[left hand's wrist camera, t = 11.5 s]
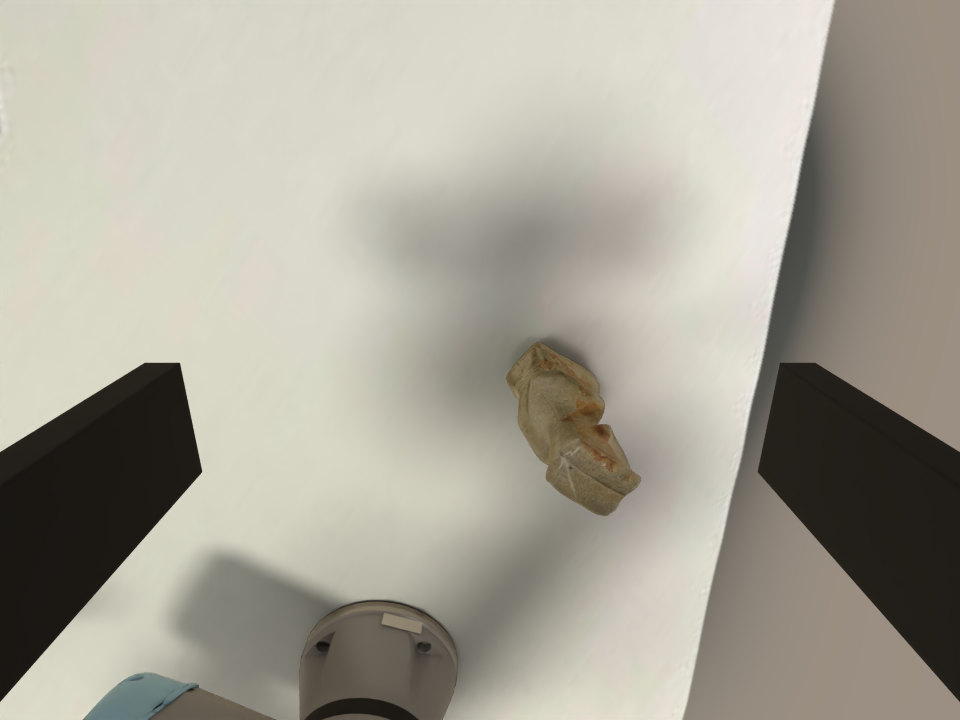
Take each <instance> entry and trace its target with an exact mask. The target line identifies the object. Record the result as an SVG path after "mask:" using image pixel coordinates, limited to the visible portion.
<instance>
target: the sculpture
mask: <svg viewBox="0 0 960 720" xmlns="http://www.w3.org/2000/svg"><path fill="white" fill-rule="evenodd" d="M506 379H507V382H508V385H509V386H510V388H511V390H512V392H513V393H514V395H515V397H516V398H517V400H518V401H519V408H518V424H519V427H520V429H521V431H522V432H523V434H524V436H525V438H526V439H527V441H528V443H529V444H530V446H531V448H532V449H533V451H534V452H535V454H536V455H537V457H538V458H539V459H540V460H541V461H542V462H544V463H545V464H547V465H549V466H548V469H547V472H546V480H547V481H548V482H550V483H551V484H552V485H553V486H554V488H555V489H557V490H558V491H559V492H560V493H561V494H563V495H564V496H566V497H567V498H569V499H571V500H573V501H575V502H576V503H578V504H580V505H582V506H583V507H585V508H587V509H588V510H590V511H591V512H593V513H595V514H598V515H602V516H607V515H609V514H610V513H612V512H613V511H614V510H616V508H617V507H618V505H619V503H620V501H621V500H622V498H623V497H624V496H626V495H627V494H629V493H630V492H632V491H633V490H634V489H635V488H636V487H637V486H638V485H639V483H640V482H641V478H640V476H638V475H637V474H636V473H635V472H633V471H632V470H631V469H630V466H629V463H628V460H627V458H626V456H625V454H624V452H623V450H622V448H621V447H620V445H619V443H618V442H617V440H616V438H615V436H614V434H613V431H612V429H611V427H610V426H609V425H607V424H600V425H597V424H598V422H599V421H600V419H601V418H602V415H603V413H604V409H605V403H604V400H603V399H602V397H600V396H599V393H600V385H599V383H598V381H597V379H596V378H595V377H594V376H593V375H592V374H591V373H590V372H589V371H588V370H586V369H585V368H584V367H582V366H580V365H579V364H577V363H575V362H573V361H572V360H570V359H568V358H566V357H564V356H562V355H560V354H558V353H556V352H555V351H553V350H551V349H550V348H548V347H547V346H546V345H544V344H542V343H539V342H537V343H535V344H534V345H533V346H532V347H530V349H528V350H527V351H526V352H525V353H524V354H523V355H522V357H521V358H520V359H519V360H518V361H517V362H516V363H515V364H514V366H513V367H512V369H511V370H510V371H509V373H508V375H507V377H506Z"/></svg>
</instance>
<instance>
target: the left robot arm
mask: <svg viewBox="0 0 960 720" xmlns="http://www.w3.org/2000/svg"><path fill="white" fill-rule="evenodd" d="M201 473H202V468H201V463H200V458H199V454H198V449H197V444H196V439H195V434H194V429H193V424H192V419H191V415H190V410H189V405H188V400H187V395H186V390H185V385H184V380H183V376H182V371H181V366H180V363H144V364H142V365H141V366H139V367H137V368H136V369H134V370H132V371H131V372H129V373H128V374H126V375H124V376H123V377H121V378H120V379H118V380H116V381H115V382H113V383H111V384H110V385H108V386H107V387H105V388H103V389H102V390H100V391H98V392H97V393H95V394H94V395H92V396H90V397H89V398H87V399H86V400H84V401H82V402H81V403H79V404H77V405H76V406H74V407H73V408H71V409H69V410H68V411H66V412H64V413H63V414H61V415H60V416H58V417H56V418H55V419H53V420H51V421H50V422H48V423H47V424H45V425H43V426H42V427H40V428H39V429H37V430H35V431H34V432H32V433H30V434H29V435H27V436H26V437H24V438H22V439H21V440H19V441H17V442H16V443H14V444H13V445H11V446H9V447H8V448H6V449H5V450H3V451H1V452H0V702H1V700H2V699H3V698H4V697H5V696H6V695H7V694H8V692H9V691H10V690H11V689H12V688H13V687H14V686H15V684H16V683H17V682H18V681H19V680H20V679H21V678H22V676H23V675H24V674H25V673H26V672H27V671H28V670H29V669H30V667H31V666H32V665H33V664H34V663H35V662H36V661H37V659H38V658H39V657H40V656H41V655H42V654H43V653H44V651H45V650H46V649H47V648H48V647H49V646H50V645H51V644H52V642H53V641H54V640H55V639H56V638H57V637H58V636H59V634H60V633H61V632H62V631H63V630H64V629H65V628H66V626H67V625H68V624H69V623H70V622H71V621H72V620H73V618H74V617H75V616H76V615H77V614H78V613H79V612H80V611H81V609H82V608H83V607H84V606H85V605H86V604H87V603H88V601H89V600H90V599H91V598H92V597H93V596H94V595H95V593H96V592H97V591H98V590H99V589H100V588H101V587H102V585H103V584H104V583H105V582H106V581H107V580H108V579H109V578H110V576H111V575H112V574H113V573H114V572H115V571H116V570H117V568H118V567H119V566H120V565H121V564H122V563H123V562H124V560H125V559H126V558H127V557H128V556H129V555H130V554H131V552H132V551H133V550H134V549H135V548H136V547H137V546H138V545H139V543H140V542H141V541H142V540H143V539H144V538H145V537H146V535H147V534H148V533H149V532H150V531H151V530H152V529H153V527H154V526H155V525H156V524H157V523H158V522H159V521H160V519H161V518H162V517H163V516H164V515H165V514H166V513H167V512H168V510H169V509H170V508H171V507H172V506H173V505H174V504H175V502H176V501H177V500H178V499H179V498H180V497H181V496H182V494H183V493H184V492H185V491H186V490H187V489H188V488H189V487H190V485H191V484H192V483H193V482H194V481H195V480H196V479H197V477H198V476H199V475H200V474H201ZM758 473H759V474H760V475H761V476H762V477H763V479H764V480H765V481H766V482H767V483H768V484H769V485H770V487H771V488H772V489H773V490H774V491H775V492H776V493H777V494H778V496H779V497H780V498H781V499H782V500H783V501H784V502H785V503H786V505H787V506H788V507H789V508H790V509H791V510H792V511H793V513H794V514H795V515H796V516H797V517H798V518H799V519H800V521H801V522H802V523H803V524H804V525H805V526H806V527H807V529H808V530H809V531H810V532H811V533H812V534H813V535H814V537H815V538H816V539H817V540H818V541H819V542H820V543H821V545H822V546H823V547H824V548H825V549H826V550H827V551H828V552H829V554H830V555H831V556H832V557H833V558H834V559H835V560H836V562H837V563H838V564H839V565H840V566H841V567H842V568H843V570H844V571H845V572H846V573H847V574H848V575H849V576H850V577H851V579H852V580H853V581H854V582H855V583H856V584H857V585H858V587H859V588H860V589H861V590H862V591H863V592H864V593H865V595H866V596H867V597H868V598H869V599H870V600H871V601H872V603H873V604H874V605H875V606H876V607H877V608H878V609H879V611H880V612H881V613H882V614H883V615H884V616H885V617H886V618H887V620H888V621H889V622H890V623H891V624H892V625H893V626H894V628H895V629H896V630H897V631H898V632H899V633H900V634H901V636H902V637H903V638H904V639H905V640H906V641H907V642H908V643H909V645H910V646H911V647H912V648H913V649H914V650H915V651H916V653H917V654H918V655H919V656H920V657H921V658H922V659H923V661H924V662H925V663H926V664H927V665H928V666H929V667H930V669H931V670H932V671H933V672H934V673H935V674H936V675H937V676H938V678H939V679H940V680H941V681H942V682H943V683H944V684H945V686H946V687H947V688H948V689H949V690H950V691H951V692H952V694H953V695H954V696H955V697H956V698H957V699H958V700H959V701H960V452H959V451H957V450H955V449H954V448H952V447H951V446H949V445H947V444H946V443H944V442H943V441H941V440H939V439H938V438H936V437H934V436H933V435H931V434H929V433H928V432H926V431H925V430H923V429H921V428H920V427H918V426H917V425H915V424H913V423H912V422H910V421H908V420H907V419H905V418H904V417H902V416H900V415H899V414H897V413H896V412H894V411H892V410H891V409H889V408H887V407H886V406H884V405H883V404H881V403H879V402H878V401H876V400H874V399H873V398H871V397H870V396H868V395H866V394H865V393H863V392H862V391H860V390H858V389H857V388H855V387H853V386H852V385H850V384H849V383H847V382H845V381H844V380H842V379H840V378H839V377H837V376H836V375H834V374H832V373H831V372H829V371H827V370H826V369H824V368H823V367H821V366H819V365H818V364H816V363H780V366H779V371H778V376H777V380H776V385H775V390H774V395H773V400H772V405H771V410H770V415H769V419H768V424H767V429H766V434H765V439H764V444H763V449H762V454H761V458H760V463H759V468H758ZM456 678H457V654H456V650H455V647H454V644H453V642H452V640H451V638H450V637H449V635H448V634H447V633H446V631H445V630H444V629H443V628H442V627H441V626H440V625H439V624H438V623H437V622H436V621H434V620H433V619H432V618H430V617H429V616H427V615H425V614H424V613H422V612H420V611H418V610H415V609H413V608H410V607H407V606H404V605H400V604H395V603H389V602H364V603H357V604H353V605H349V606H346V607H343V608H341V609H338V610H336V611H334V612H332V613H331V614H329V615H327V616H326V617H325V618H323V619H322V620H321V621H320V622H319V623H318V624H317V625H316V626H315V627H314V629H313V630H312V632H311V633H310V635H309V637H308V639H307V642H306V645H305V648H304V651H303V654H302V657H301V661H300V670H299V691H300V720H443V717H444V715H445V713H446V710H447V708H448V705H449V703H450V700H451V698H452V695H453V692H454V688H455V685H456ZM83 720H275V719H273V718H270V717H268V716H265V715H263V714H261V713H258V712H256V711H253V710H251V709H249V708H246V707H244V706H241V705H239V704H237V703H234V702H232V701H229V700H227V699H224V698H222V697H220V696H217V695H215V694H212V693H210V692H208V691H205V690H203V689H200V688H199V685H197V684H195V683H188V684H185V683H181V682H179V681H176V680H173V679H170V678H167V677H164V676H161V675H158V674H155V673H139V674H135V675H133V676H131V677H128V678H127V679H125V680H123V681H122V682H121V683H119V684H118V685H117V686H116V687H114V688H113V689H112V690H111V691H110V692H109V693H108V694H107V695H106V696H104V697H103V698H102V700H101V701H100V702H99V703H98V704H97V705H96V706H95V707H94V708H93V709H92V710H91V711H90V712H89V713H88V715H87V716H86V717H85V718H84V719H83Z"/></svg>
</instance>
